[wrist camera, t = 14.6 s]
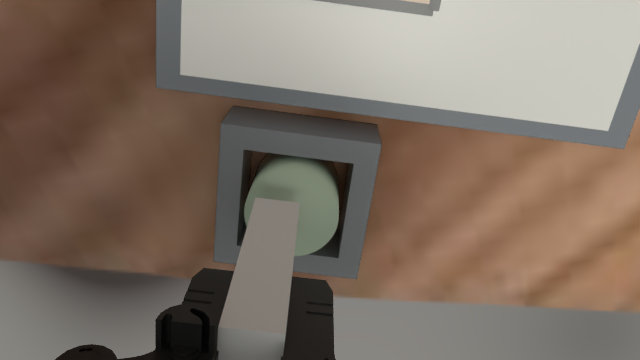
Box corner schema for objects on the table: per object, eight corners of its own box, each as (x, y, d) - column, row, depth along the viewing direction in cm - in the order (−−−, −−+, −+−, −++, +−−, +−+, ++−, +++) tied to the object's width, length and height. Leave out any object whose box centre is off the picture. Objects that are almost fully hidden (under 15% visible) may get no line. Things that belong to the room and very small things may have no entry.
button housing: (225, 232, 24) (213, 261, 22) (233, 105, 22) (220, 123, 19) (354, 248, 24) (356, 279, 22) (376, 124, 22) (381, 144, 19)
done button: (252, 215, 23) (240, 250, 21) (258, 139, 22) (247, 165, 19) (332, 225, 23) (332, 261, 21) (344, 150, 22) (345, 178, 19)
